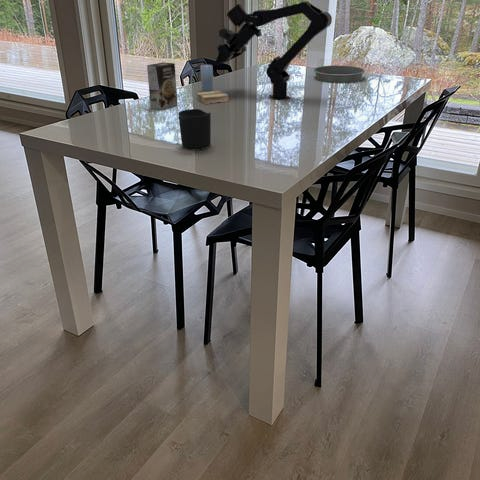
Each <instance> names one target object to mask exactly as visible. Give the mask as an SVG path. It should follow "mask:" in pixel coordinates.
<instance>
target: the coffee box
mask: <svg viewBox="0 0 480 480" xmlns="http://www.w3.org/2000/svg"><path fill="white" fill-rule="evenodd" d="M146 68H147V69H146V71H147V82H148V93H149V104H150V106H149V107H150V108H151V109H154V110H159V111H164V110H167V109H171V108H175V107H177V106H178V93H177V80H176V79H177V78H176V64H175V63H173V62H164V61H163V62H158V63H152V64H147V65H146Z"/></svg>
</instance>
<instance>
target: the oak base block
mask: <svg viewBox="0 0 480 480" xmlns="http://www.w3.org/2000/svg"><path fill="white" fill-rule="evenodd" d="M196 100H197V101H199V102H201V103H202V104H204V105H210V103H212V104H218V103H217V102H221V103H227V101H228V102H229V94H227V93H224V92H222V91H220V90H213V91H210V92H202V91H201V92H196Z"/></svg>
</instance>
